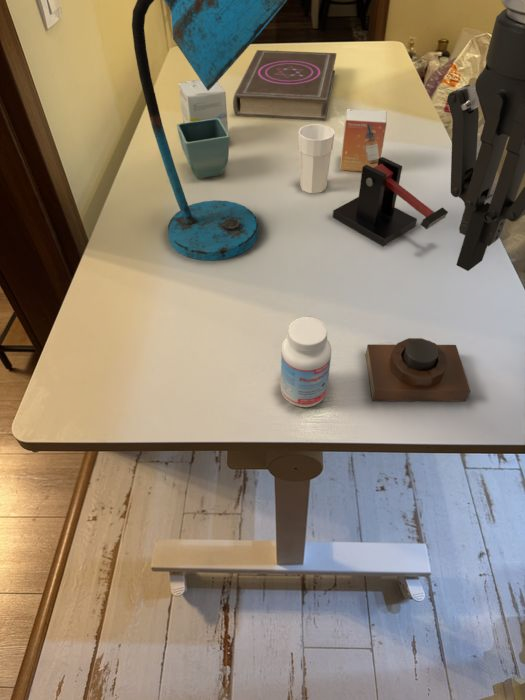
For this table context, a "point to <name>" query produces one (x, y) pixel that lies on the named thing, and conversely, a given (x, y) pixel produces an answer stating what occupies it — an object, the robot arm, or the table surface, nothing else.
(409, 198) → the red lever
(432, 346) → the bell button
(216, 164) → the flower pot
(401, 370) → the block
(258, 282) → the table surface
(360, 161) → the small box
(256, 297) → the table surface
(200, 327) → the table surface
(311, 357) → the pill bottle
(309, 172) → the cup
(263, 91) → the book
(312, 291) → the table surface
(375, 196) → the black lever stand
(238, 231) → the desk lamp
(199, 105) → the ink box
